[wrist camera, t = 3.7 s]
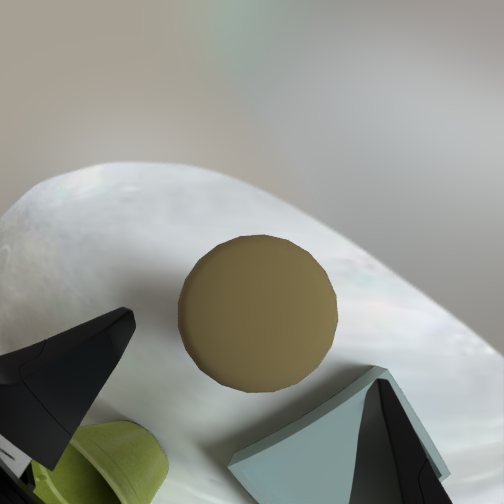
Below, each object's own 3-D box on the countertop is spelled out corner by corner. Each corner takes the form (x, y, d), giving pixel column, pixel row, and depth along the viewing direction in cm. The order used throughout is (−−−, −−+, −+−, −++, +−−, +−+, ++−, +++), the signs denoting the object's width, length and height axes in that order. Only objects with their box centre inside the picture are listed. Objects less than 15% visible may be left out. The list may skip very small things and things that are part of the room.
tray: (314, 538, 12) (316, 555, 10) (234, 452, 15) (227, 467, 13) (436, 463, 13) (450, 473, 10) (374, 365, 16) (387, 369, 14)
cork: (325, 359, 17) (382, 388, 6) (234, 377, 17) (168, 426, 7) (305, 270, 19) (329, 187, 8) (218, 290, 19) (140, 232, 8)
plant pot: (177, 516, 14) (132, 573, 5) (84, 464, 15) (18, 491, 7) (203, 433, 16) (149, 488, 8) (96, 381, 18) (14, 389, 10)
